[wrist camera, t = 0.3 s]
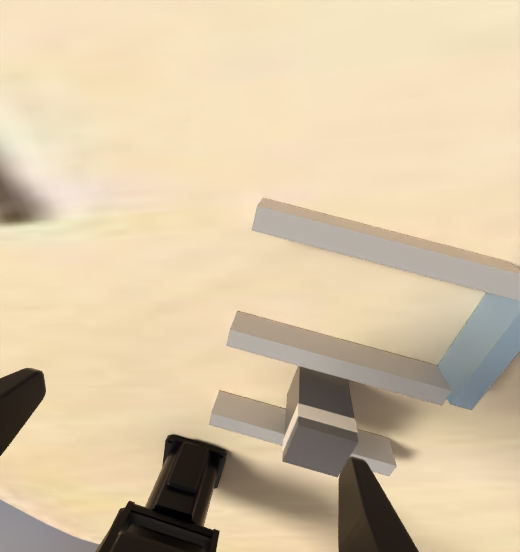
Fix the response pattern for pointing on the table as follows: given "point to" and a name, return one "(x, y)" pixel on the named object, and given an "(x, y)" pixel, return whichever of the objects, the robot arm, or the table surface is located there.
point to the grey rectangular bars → (369, 361)
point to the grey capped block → (319, 422)
